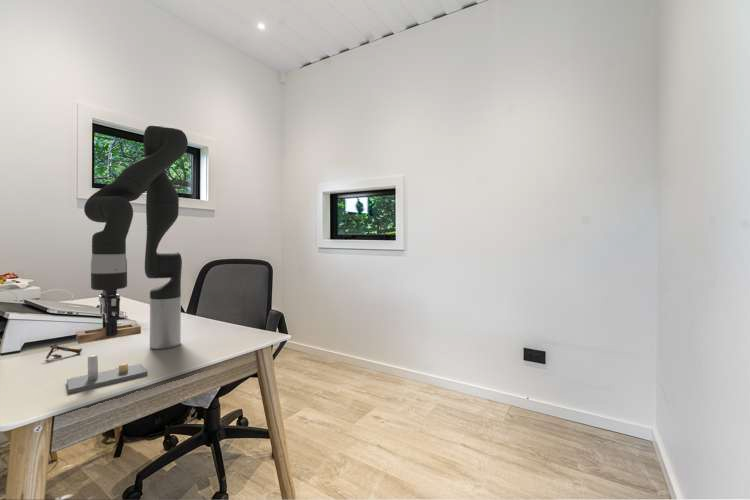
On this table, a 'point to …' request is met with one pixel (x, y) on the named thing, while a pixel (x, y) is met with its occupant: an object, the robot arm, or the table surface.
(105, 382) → the base
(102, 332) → the holed bar
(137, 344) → the table surface
